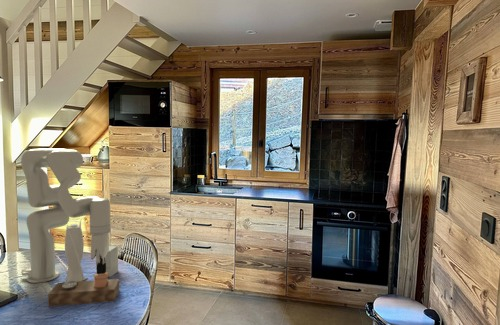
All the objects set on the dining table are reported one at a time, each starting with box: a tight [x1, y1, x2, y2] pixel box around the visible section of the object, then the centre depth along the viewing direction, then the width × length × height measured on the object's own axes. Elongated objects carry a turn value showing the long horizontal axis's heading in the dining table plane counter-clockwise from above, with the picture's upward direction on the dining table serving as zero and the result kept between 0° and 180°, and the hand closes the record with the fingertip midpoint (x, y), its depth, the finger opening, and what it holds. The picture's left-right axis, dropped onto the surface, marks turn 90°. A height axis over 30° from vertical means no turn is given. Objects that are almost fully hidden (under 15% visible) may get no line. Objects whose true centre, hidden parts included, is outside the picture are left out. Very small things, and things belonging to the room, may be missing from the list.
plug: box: [62, 281, 77, 290], centre depth 131 cm, size 5×5×6 cm
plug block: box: [47, 278, 120, 308], centre depth 133 cm, size 24×10×5 cm, turn 101°
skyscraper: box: [63, 221, 88, 282], centre depth 147 cm, size 8×8×28 cm
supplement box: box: [95, 245, 119, 278], centre depth 156 cm, size 7×7×13 cm
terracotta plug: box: [93, 272, 109, 288], centre depth 133 cm, size 5×5×6 cm
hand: (101, 273), depth 133 cm, fingers closed
